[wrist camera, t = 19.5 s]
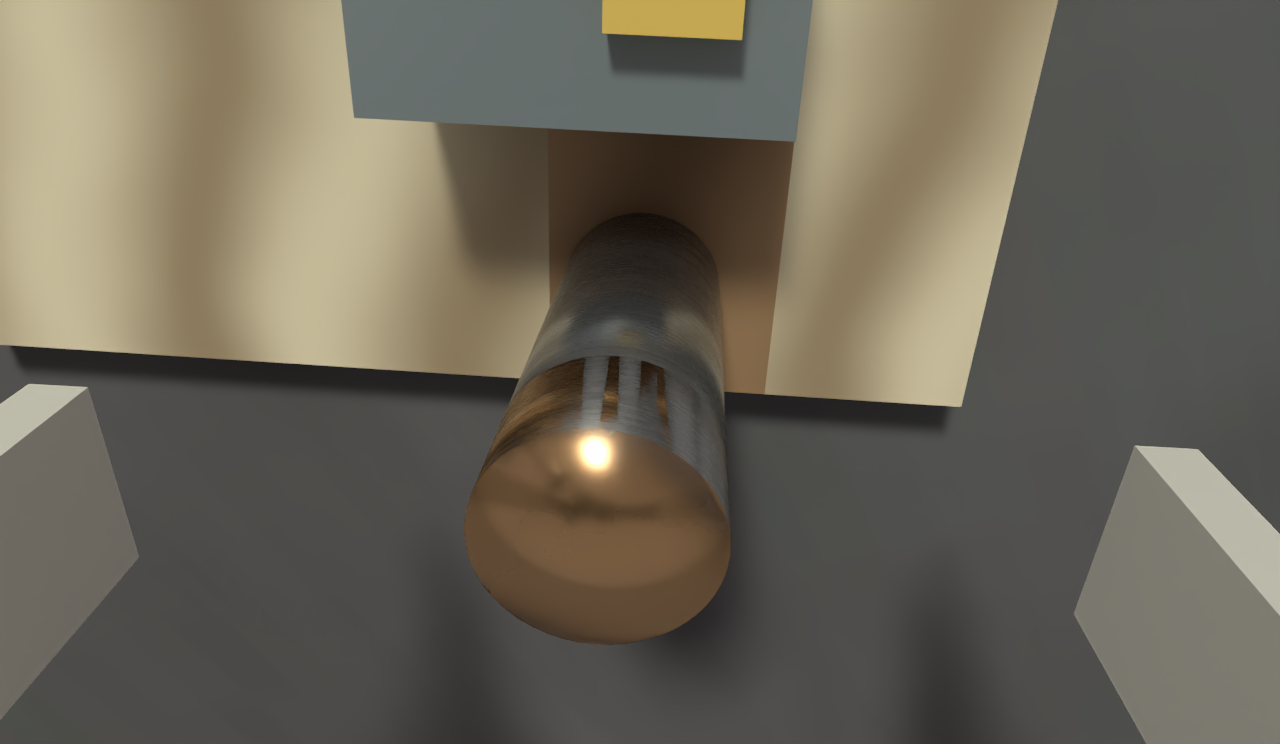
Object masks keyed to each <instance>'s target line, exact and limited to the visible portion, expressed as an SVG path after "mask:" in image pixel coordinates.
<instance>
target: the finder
mask: <svg viewBox="0 0 1280 744" xmlns="http://www.w3.org/2000/svg"><path fill="white" fill-rule="evenodd" d="M812 3H813V0H341V4H342V13H343V22H344V31H345V40H346V49H347V59H348V68H349V77H350V86H351V95H352V104H353V113H354V118H365V119H383V120H402V121H420V122H439V123H458V124H476V125H495V126H513V127H532V128H551V129H569V130H588V131H606V132H625V133H644V134H662V135H681V136H699V137H718V138H736V139H755V140H774V141H792V142H796V136H797V128H798V120H799V111H800V103H801V95H802V86H803V78H804V70H805V61H806V53H807V45H808V36H809V28H810V20H811V11H812Z"/></svg>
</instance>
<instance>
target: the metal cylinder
mask: <svg viewBox="0 0 1280 744" xmlns="http://www.w3.org/2000/svg"><path fill="white" fill-rule="evenodd" d="M464 536H465V543H466V549H467V552H468V556H469V559H470V562H471V564H472V566H473V568H474V571H475V573H476V575H477V576H478V578H479V579H480V581H481V583H482V584H483V586H484V587H485V588H486V590H487V591H488V592H489V593H490V594H491V595H492V597H493V598H494V599H495V600H496V601H497V602H498V603H499V604H500V605H502V606H503V607H504V608H505V609H506V610H507V611H509V612H510V613H511V614H513V615H514V616H515V617H517V618H518V619H520V620H521V621H523V622H525V623H527V624H528V625H530V626H532V627H534V628H536V629H538V630H541V631H543V632H545V633H547V634H550V635H553V636H556V637H559V638H562V639H567V640H571V641H575V642H581V643H589V644H603V645H614V644H627V643H633V642H639V641H644V640H647V639H651V638H654V637H658V636H660V635H662V634H665V633H667V632H670V631H672V630H674V629H676V628H677V627H679V626H681V625H683V624H685V623H686V622H687V621H689V620H690V619H692V618H693V617H694V616H696V615H697V614H698V613H699V612H700V611H701V610H702V609H703V608H704V607H705V606H706V605H707V604H708V603H709V602H710V600H711V599H712V598H713V597H714V595H715V594H716V592H717V591H718V589H719V587H720V585H721V584H722V582H723V579H724V577H725V574H726V571H727V569H728V564H729V559H730V553H731V532H730V509H729V487H728V465H727V442H726V420H725V397H724V375H723V353H722V330H721V308H720V286H719V276H718V271H717V267H716V264H715V262H714V259H713V257H712V255H711V253H710V251H709V250H708V248H707V246H706V245H705V244H704V243H703V241H702V240H701V239H700V238H699V237H698V236H697V235H696V234H695V233H694V232H693V231H691V230H690V229H689V228H687V227H686V226H684V225H683V224H681V223H679V222H677V221H675V220H673V219H670V218H668V217H665V216H661V215H657V214H650V213H631V214H624V215H620V216H617V217H613V218H611V219H609V220H606V221H604V222H603V223H601V224H599V225H597V226H596V227H595V228H593V229H592V230H591V231H589V232H588V233H587V234H586V235H585V236H584V237H583V238H582V239H581V241H580V242H579V244H578V245H577V246H576V248H575V250H574V252H573V253H572V255H571V258H570V260H569V262H568V265H567V267H566V270H565V272H564V274H563V277H562V279H561V281H560V284H559V286H558V289H557V291H556V293H555V296H554V298H553V301H552V303H551V305H550V308H549V310H548V312H547V315H546V317H545V320H544V322H543V324H542V327H541V329H540V331H539V334H538V336H537V339H536V341H535V343H534V346H533V348H532V351H531V353H530V355H529V358H528V360H527V362H526V365H525V367H524V370H523V372H522V374H521V377H520V379H519V382H518V384H517V386H516V389H515V391H514V393H513V396H512V398H511V401H510V403H509V405H508V408H507V410H506V413H505V415H504V417H503V420H502V422H501V424H500V427H499V429H498V432H497V434H496V436H495V439H494V441H493V443H492V446H491V448H490V451H489V453H488V455H487V458H486V460H485V463H484V465H483V467H482V470H481V472H480V474H479V477H478V479H477V482H476V484H475V486H474V489H473V491H472V494H471V496H470V499H469V502H468V505H467V509H466V514H465V520H464Z"/></svg>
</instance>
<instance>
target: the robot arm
mask: <svg viewBox="0 0 1280 744" xmlns="http://www.w3.org/2000/svg"><path fill="white" fill-rule="evenodd" d="M138 558H139V555H138V552H137V549H136V545H135V542H134V539H133V535H132V532H131V529H130V525H129V522H128V519H127V515H126V512H125V509H124V505H123V502H122V499H121V496H120V492H119V489H118V486H117V482H116V479H115V476H114V472H113V469H112V466H111V462H110V459H109V456H108V452H107V449H106V446H105V442H104V439H103V436H102V432H101V429H100V426H99V422H98V419H97V416H96V412H95V409H94V406H93V402H92V399H91V396H90V392H89V389H88V387H74V386H57V385H39V384H28V385H27V386H25V387H24V388H22V389H21V390H19V391H18V392H17V393H15V394H14V395H12V396H11V397H10V398H8V399H7V400H5V401H4V402H3V403H1V404H0V719H1V718H2V717H3V716H4V715H5V714H6V712H7V711H8V710H9V709H10V708H11V707H12V705H13V704H14V703H15V702H16V701H17V700H18V698H19V697H20V696H21V695H22V694H23V693H24V691H25V690H26V689H27V688H28V687H29V686H30V684H31V683H32V682H33V681H34V680H35V679H36V677H37V676H38V675H39V674H40V673H41V672H42V670H43V669H44V668H45V667H46V666H47V664H48V663H49V662H50V661H51V660H52V659H53V657H54V656H55V655H56V654H57V653H58V652H59V650H60V649H61V648H62V647H63V646H64V645H65V643H66V642H67V641H68V640H69V639H70V638H71V636H72V635H73V634H74V633H75V632H76V631H77V629H78V628H79V627H80V626H81V625H82V624H83V622H84V621H85V620H86V619H87V618H88V616H89V615H90V614H91V613H92V612H93V611H94V609H95V608H96V607H97V606H98V605H99V604H100V602H101V601H102V600H103V599H104V598H105V597H106V595H107V594H108V593H109V592H110V591H111V590H112V588H113V587H114V586H115V585H116V584H117V583H118V581H119V580H120V579H121V578H122V577H123V576H124V574H125V573H126V572H127V571H128V570H129V569H130V567H131V566H132V565H133V564H134V563H135V561H136V560H137V559H138ZM1074 615H1075V617H1076V619H1077V621H1078V622H1079V624H1080V626H1081V628H1082V630H1083V631H1084V633H1085V635H1086V637H1087V639H1088V640H1089V642H1090V644H1091V646H1092V647H1093V649H1094V651H1095V653H1096V655H1097V656H1098V658H1099V660H1100V662H1101V664H1102V665H1103V667H1104V669H1105V671H1106V672H1107V674H1108V676H1109V678H1110V680H1111V681H1112V683H1113V685H1114V687H1115V689H1116V690H1117V692H1118V694H1119V696H1120V698H1121V699H1122V701H1123V703H1124V705H1125V706H1126V708H1127V710H1128V712H1129V714H1130V715H1131V717H1132V719H1133V721H1134V723H1135V724H1136V726H1137V728H1138V730H1139V732H1140V733H1141V735H1142V737H1143V739H1144V740H1145V742H1146V744H1280V534H1279V533H1278V532H1277V531H1276V530H1275V529H1274V528H1273V527H1272V526H1271V525H1270V524H1269V522H1268V521H1267V520H1266V519H1265V518H1264V517H1263V516H1262V515H1261V514H1260V513H1259V512H1258V511H1257V510H1256V509H1255V508H1254V507H1253V506H1252V505H1251V504H1250V503H1249V502H1248V501H1247V500H1246V499H1245V498H1244V497H1243V496H1242V495H1241V493H1240V492H1239V491H1238V490H1237V489H1236V488H1235V487H1234V486H1233V485H1232V484H1231V483H1230V482H1229V481H1228V480H1227V479H1226V478H1225V477H1224V476H1223V475H1222V474H1221V473H1220V472H1219V471H1218V470H1217V469H1216V468H1215V467H1214V466H1213V465H1212V463H1211V462H1210V461H1209V460H1208V459H1207V458H1206V457H1205V456H1204V455H1203V454H1202V453H1201V452H1200V451H1199V450H1198V449H1185V448H1167V447H1149V446H1134V449H1133V452H1132V455H1131V457H1130V460H1129V463H1128V466H1127V468H1126V471H1125V474H1124V477H1123V479H1122V482H1121V485H1120V488H1119V490H1118V493H1117V496H1116V499H1115V501H1114V504H1113V507H1112V510H1111V512H1110V515H1109V518H1108V521H1107V523H1106V526H1105V529H1104V532H1103V534H1102V537H1101V540H1100V543H1099V545H1098V548H1097V551H1096V554H1095V556H1094V559H1093V562H1092V565H1091V567H1090V570H1089V573H1088V576H1087V579H1086V581H1085V584H1084V587H1083V590H1082V592H1081V595H1080V598H1079V601H1078V603H1077V606H1076V609H1075V612H1074Z"/></svg>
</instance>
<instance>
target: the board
mask: <svg viewBox="0 0 1280 744" xmlns="http://www.w3.org/2000/svg"><path fill="white" fill-rule="evenodd" d="M1057 3H1058V0H813V3H812V11H811V20H810V28H809V36H808V45H807V53H806V61H805V70H804V78H803V86H802V95H801V103H800V111H799V120H798V128H797V136H796V142H792V141H774V140H755V139H736V138H718V137H699V136H681V135H662V134H644V133H625V132H606V131H588V130H569V129H551V128H532V127H513V126H495V125H476V124H458V123H439V122H420V121H402V120H383V119H365V118H354V113H353V104H352V95H351V86H350V77H349V68H348V59H347V49H346V40H345V31H344V22H343V13H342V4H341V0H0V345H13V346H29V347H44V348H60V349H75V350H90V351H106V352H121V353H137V354H152V355H167V356H183V357H198V358H214V359H229V360H244V361H260V362H275V363H291V364H306V365H321V366H337V367H352V368H368V369H383V370H399V371H414V372H429V373H445V374H460V375H476V376H491V377H506V378H520V377H521V374H522V372H523V370H524V367H525V365H526V362H527V360H528V358H529V355H530V353H531V351H532V348H533V346H534V343H535V341H536V339H537V336H538V334H539V331H540V329H541V327H542V324H543V322H544V320H545V317H546V315H547V312H548V310H549V308H550V305H551V303H552V301H553V298H554V296H555V293H556V291H557V289H558V286H559V284H560V281H561V279H562V277H563V274H564V272H565V270H566V267H567V265H568V262H569V260H570V258H571V255H572V253H573V252H574V250H575V248H576V246H577V245H578V244H579V242H580V241H581V239H582V238H583V237H584V236H585V235H586V234H587V233H588V232H589V231H591V230H592V229H593V228H595V227H596V226H597V225H599V224H601V223H603V222H604V221H606V220H609V219H611V218H613V217H617V216H620V215H624V214H631V213H650V214H657V215H661V216H665V217H668V218H670V219H673V220H675V221H677V222H679V223H681V224H683V225H684V226H686V227H687V228H689V229H690V230H691V231H693V232H694V233H695V234H696V235H697V236H698V237H699V238H700V239H701V240H702V241H703V243H704V244H705V245H706V246H707V248H708V250H709V251H710V253H711V255H712V257H713V259H714V262H715V264H716V267H717V271H718V276H719V286H720V308H721V330H722V353H723V375H724V392H737V393H753V394H768V395H784V396H799V397H814V398H830V399H845V400H861V401H876V402H891V403H907V404H922V405H938V406H953V407H961V405H962V401H963V397H964V392H965V388H966V384H967V380H968V376H969V371H970V367H971V363H972V359H973V355H974V350H975V346H976V342H977V338H978V334H979V330H980V325H981V321H982V317H983V313H984V309H985V304H986V300H987V296H988V292H989V288H990V283H991V279H992V275H993V271H994V267H995V262H996V258H997V254H998V250H999V246H1000V241H1001V237H1002V233H1003V229H1004V225H1005V221H1006V216H1007V212H1008V208H1009V204H1010V200H1011V195H1012V191H1013V187H1014V183H1015V179H1016V174H1017V170H1018V166H1019V162H1020V158H1021V153H1022V149H1023V145H1024V141H1025V137H1026V132H1027V128H1028V124H1029V120H1030V116H1031V112H1032V107H1033V103H1034V99H1035V95H1036V91H1037V86H1038V82H1039V78H1040V74H1041V70H1042V65H1043V61H1044V57H1045V53H1046V49H1047V44H1048V40H1049V36H1050V32H1051V28H1052V23H1053V19H1054V15H1055V11H1056V7H1057Z"/></svg>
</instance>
